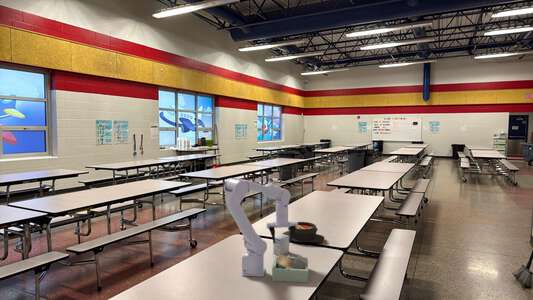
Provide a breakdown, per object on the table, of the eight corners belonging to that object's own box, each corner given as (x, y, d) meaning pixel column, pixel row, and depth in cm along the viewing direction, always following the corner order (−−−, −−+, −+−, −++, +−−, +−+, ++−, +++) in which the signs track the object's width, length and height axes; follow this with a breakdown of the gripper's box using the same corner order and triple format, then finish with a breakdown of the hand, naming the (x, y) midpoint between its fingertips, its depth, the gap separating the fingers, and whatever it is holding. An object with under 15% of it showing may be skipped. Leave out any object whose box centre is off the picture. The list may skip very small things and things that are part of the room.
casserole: (328, 237, 190) (328, 223, 189) (318, 248, 173) (319, 232, 173) (288, 232, 201) (288, 218, 200) (276, 241, 184) (276, 226, 184)
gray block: (291, 267, 139) (297, 258, 139) (291, 263, 144) (297, 253, 143) (300, 273, 139) (306, 263, 138) (300, 268, 143) (306, 259, 143)
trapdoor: (274, 266, 137) (277, 261, 136) (276, 256, 148) (279, 251, 147) (298, 282, 136) (302, 277, 136) (298, 271, 147) (301, 266, 147)
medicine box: (282, 249, 171) (282, 233, 170) (289, 251, 168) (289, 235, 167) (273, 254, 165) (273, 237, 164) (280, 256, 162) (280, 239, 161)
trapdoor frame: (272, 280, 136) (272, 267, 135) (274, 266, 150) (274, 254, 149) (308, 282, 134) (308, 269, 134) (307, 268, 148) (307, 256, 148)
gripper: (267, 216, 146) (267, 246, 147) (299, 215, 148) (299, 244, 148) (265, 212, 153) (266, 241, 154) (296, 211, 155) (296, 239, 155)
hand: (282, 242), depth 152 cm, fingers open, 7 cm apart
